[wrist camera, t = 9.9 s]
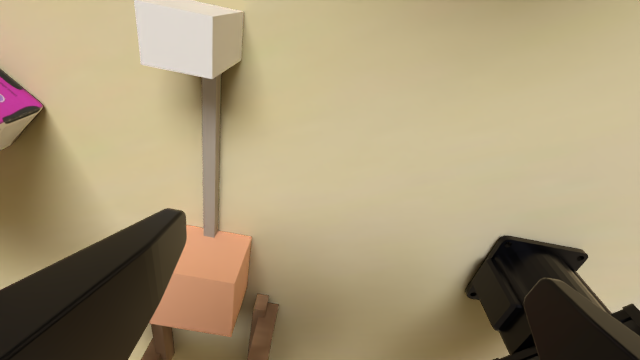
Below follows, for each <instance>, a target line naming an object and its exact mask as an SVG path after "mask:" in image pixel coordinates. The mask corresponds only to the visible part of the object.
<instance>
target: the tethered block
mask: <svg viewBox="0 0 640 360" xmlns="http://www.w3.org/2000/svg"><path fill="white" fill-rule="evenodd" d="M134 5H135V14H136V23H137V32H138V41H139V50H140V59H141V65H145V66H150V67H155V68H160V69H165V70H170V71H175V72H179V73H184V74H189V75H194V76H199V77H202V145H203V223H204V228H201V227H195V226H190V225H186V231H187V239H186V244H185V247H184V249H183V251H182V254H181V256H180V258H179V261H178V263H177V265H176V267H175V270H174V272H173V274H172V277H171V279H170V281H169V284H168V286H167V288H166V290H165V293H164V295H163V297H162V299H161V301H160V304H159V306H158V307H157V309H156V311H155V313H154V315H153V317H152V318H151V320H150V324H155V325H161V326H167V327H173V328H180V329H186V330H192V331H198V332H204V333H210V334H216V335H222V336H228V337H231V336H232V333H233V329H234V326H235V323H236V320H237V317H238V314H239V311H240V307H241V304H242V301H243V298H244V295H245V292H246V289H247V280H248V270H249V260H250V249H251V239H252V237H250V236H245V235H239V234H234V233H228V232H223V231H218V210H219V159H220V108H221V73H223V72H224V71H226V70H227V69H229V68H230V67H232V66H233V65H235V64H236V63H238V62H239V61H241V58H242V39H243V20H244V11H239V10H234V9H230V8H225V7H221V6H216V5H211V4H207V3H202V2H198V1H193V0H134Z"/></svg>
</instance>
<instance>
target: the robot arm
mask: <svg viewBox="0 0 640 360" xmlns="http://www.w3.org/2000/svg"><path fill="white" fill-rule="evenodd" d="M186 239H187V231H186V215H185V213H184V212H183V211H181V210H175V209H170V208H167V209H164V210H162V211H160V212H158V213H155V214H153V215H151V216H149V217H147V218H145V219H143V220H141V221H139V222H137V223H135V224H133V225H131V226H129V227H127V228H125V229H123V230H121V231H119V232H117V233H115V234H113V235H111V236H109V237H107V238H105V239H103V240H101V241H99V242H97V243H95V244H93V245H91V246H89V247H87V248H84V249H82V250H80V251H78V252H76V253H74V254H72V255H70V256H68V257H66V258H64V259H62V260H60V261H58V262H56V263H54V264H52V265H50V266H48V267H46V268H44V269H42V270H40V271H38V272H36V273H34V274H32V275H30V276H28V277H26V278H24V279H22V280H20V281H18V282H16V283H14V284H11V285H9V286H7V287H5V288H3V289H1V290H0V360H128V358H129V357H130V355H131V353H132V351H133V350H134V348H135V346H136V344H137V343H138V341H139V339H140V337H141V336H142V334H143V332H144V330H145V329H146V327H147V325H148V323H149V322H150V320H151V318H152V317H153V315H154V313H155V311H156V309H157V307H158V306H159V304H160V301H161V299H162V297H163V295H164V293H165V290H166V288H167V286H168V284H169V281H170V279H171V277H172V274H173V272H174V270H175V267H176V265H177V263H178V261H179V258H180V256H181V254H182V251H183V249H184V247H185V244H186ZM507 242H508V243H507ZM505 243H506V244H505ZM587 258H588V255H587V254H586V253H585V252H584V251H583V250H581V249H576V248H571V247H565V246H560V245H555V244H550V243H544V242H539V241H534V240H528V239H523V238H518V237H513V236H503V237H501V238H500V239H499V240H498V242H497V243H496V245H495V246H494V248H493V249H492V251H491V252H490V254H489V255H488V257H487V258H486V260H485V261H484V263H483V264H482V266H481V267H480V269H479V270H478V272H477V273H476V275H475V276H474V278H473V279H472V281H471V282H470V284H469V285H468V287H467V288H466V290H465V292H466V294H467V297H469V298H472V299H477V300H480V301H481V303H482V306H483V308H484V310H485V312H486V314H487V316H488V319H489V321H490V323H491V325H492V327H493V328H494V330H496V331H499V333H500V335H501V337H502V339H503V341H504V343H505V345H506V347H507V350H508V352H509V354H510V355H508V356H505V357H503V358H500V359H498V358H496V359H493V360H640V311H639V310H638V309H637V308H636V307H635V306H634V305H633V304H630V305H627V306H625V307H622V308H623V310H620V311H618V312H615V313H613V314H612V313H611V312H610V311H609V310H608V308H607V307H606V306H605V305H604V304H603V303H602V301H601V300H600V299H599V298H598V297H597V296H596V294H595V293H594V292H593V291H592V290H591V289H590V287H589V286H588V285H587V284H586V283H585V282H584V280H583V279H582V278H581V277H580V276H579V275H578V273H577V272H576V271H577V270H578V269H579V268H580V267H581V265H582V264H583V263H584V262H585V261H586V260H587Z"/></svg>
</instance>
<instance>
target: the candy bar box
mask: <svg viewBox="0 0 640 360" xmlns="http://www.w3.org/2000/svg"><path fill="white" fill-rule="evenodd" d="M42 108H43V105H42V104H41V103H40V102H39V101H38V100H37V99H36V98H35V97H33V96H32V95H31V94H30V93H28V92H27V91H26V90H25V89H24V88H22V87H21V86H20V85H19V84H18V83H16V82H15V81H14V80H13V79H11V78H10V77H9V76H8V75H7V74H5V73H4V72H3V71H2V70H0V151H1V150H3V149H4V148H6V147H8V146H10V145H12V143H13V142H14V141H15V140H16V139H17V138H18V137H19V136H20V134H21V133H22V131H23V130H24V128H25V127H26V126H27V125H28V124H29V123H30V122H31V121H32V120H33V118H34V117H35V116H36V115H37V114H38V113H39V112H40V111H41V110H42Z"/></svg>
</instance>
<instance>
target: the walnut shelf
mask: <svg viewBox="0 0 640 360" xmlns="http://www.w3.org/2000/svg"><path fill="white" fill-rule="evenodd" d="M268 298H269V296H268V295H262V294H257V298H256V301H255V305H254V309H253V317H252V325H251V334H250V342H249V350H248V358H247V360H268V359H269V352H270V347H271V341H272V336H273V331H274V326H275V321H276V316H277V311H278V306H279V305H278V304H272V303H268ZM151 327H152V333H153V339H152V340H151V342H150V344H149V346H148V348H147V350H146V351H145V353H144V355H143V357H142V359H141V360H172V357H173V355H174V344H173V335H172V327H167V326H161V325H155V324H151Z"/></svg>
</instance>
